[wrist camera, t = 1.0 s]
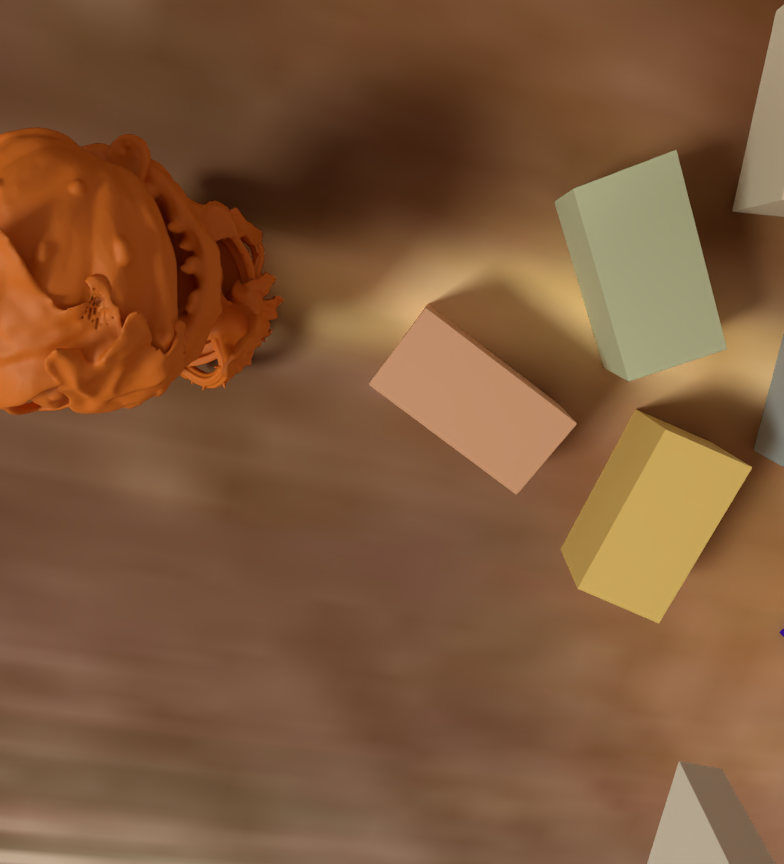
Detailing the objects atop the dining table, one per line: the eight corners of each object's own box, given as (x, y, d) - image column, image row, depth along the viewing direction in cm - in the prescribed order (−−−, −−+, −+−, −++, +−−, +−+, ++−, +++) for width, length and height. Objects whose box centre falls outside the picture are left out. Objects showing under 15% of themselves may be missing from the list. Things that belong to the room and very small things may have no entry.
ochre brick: (634, 408, 35) (665, 429, 30) (709, 441, 35) (752, 467, 30) (560, 548, 37) (577, 588, 33) (630, 578, 37) (658, 623, 33)
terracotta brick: (378, 370, 36) (368, 384, 31) (428, 303, 35) (425, 307, 30) (506, 466, 36) (516, 494, 32) (558, 403, 35) (577, 423, 31)
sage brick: (553, 202, 33) (573, 188, 28) (641, 168, 32) (676, 149, 28) (602, 367, 35) (628, 381, 30) (686, 339, 34) (726, 349, 29)
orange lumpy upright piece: (339, 238, 34) (231, 195, 17) (253, 415, 37) (81, 538, 19) (150, 134, 34) (-165, -22, 16) (77, 320, 36) (-263, 360, 19)
